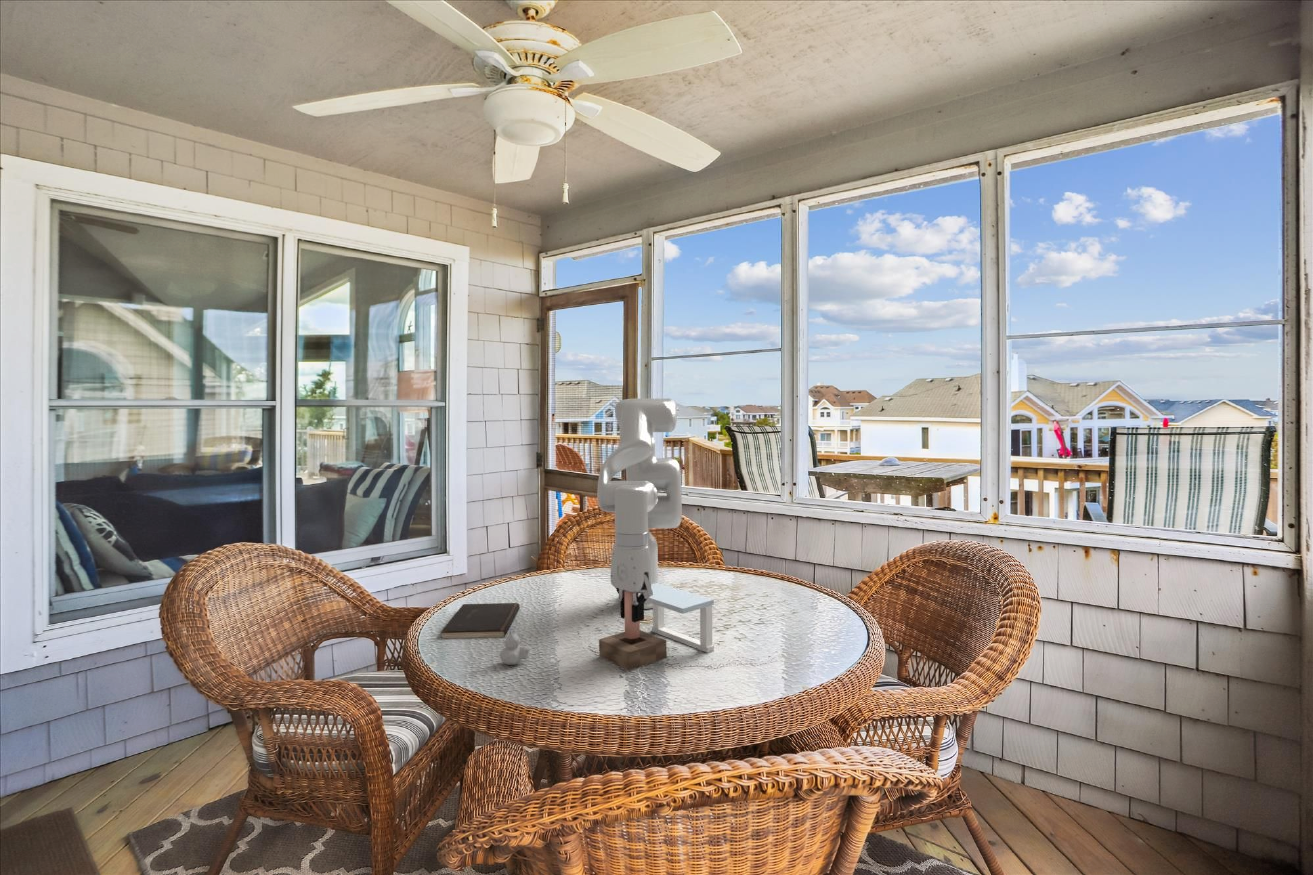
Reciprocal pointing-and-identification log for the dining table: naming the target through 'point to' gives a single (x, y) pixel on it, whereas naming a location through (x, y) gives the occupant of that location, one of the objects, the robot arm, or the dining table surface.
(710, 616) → the small white step stool
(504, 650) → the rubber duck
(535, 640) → the dining table surface
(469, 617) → the hardcover book
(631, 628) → the peg
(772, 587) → the dining table surface
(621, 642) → the socket block
